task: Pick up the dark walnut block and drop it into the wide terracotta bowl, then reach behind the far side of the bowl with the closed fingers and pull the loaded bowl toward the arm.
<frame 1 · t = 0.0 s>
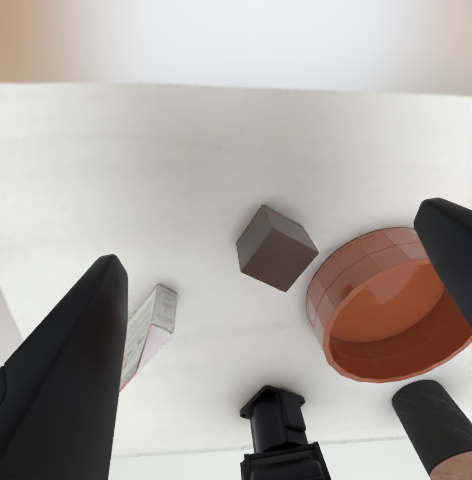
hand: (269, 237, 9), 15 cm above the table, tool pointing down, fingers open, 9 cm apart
travel mug: (415, 394, 41), on the table
block: (269, 235, 27), on the table
bowl: (377, 291, 31), on the table
ink cartridge box: (139, 321, 30), on the table
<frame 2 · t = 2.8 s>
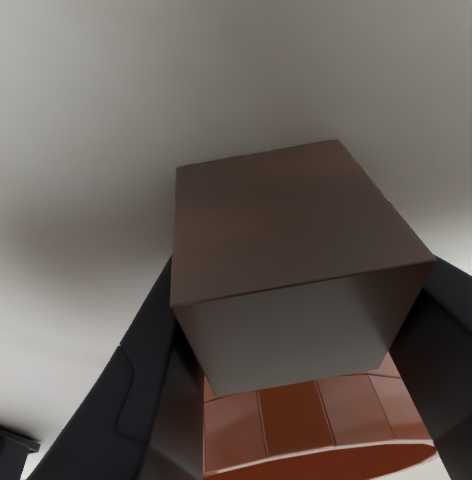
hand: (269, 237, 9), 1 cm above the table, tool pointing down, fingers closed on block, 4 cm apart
block: (262, 215, 9), on the table, touching gripper
bowl: (275, 380, 19), on the table
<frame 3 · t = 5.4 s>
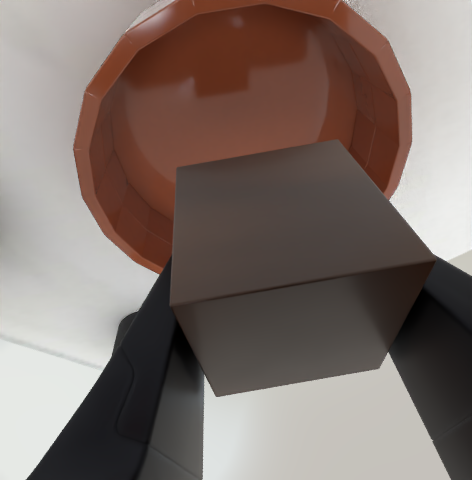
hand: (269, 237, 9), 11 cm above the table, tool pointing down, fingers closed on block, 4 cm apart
block: (262, 215, 9), point 10 cm above the table, touching gripper
bowl: (236, 142, 18), on the table
when the fingers open (1 cm above the table, at t = 8.1 s): block stays where it is, resting on bowl.
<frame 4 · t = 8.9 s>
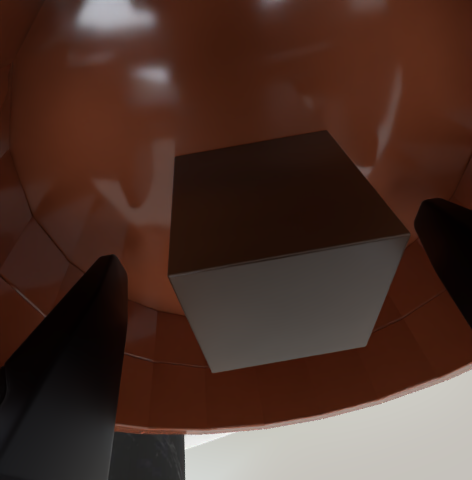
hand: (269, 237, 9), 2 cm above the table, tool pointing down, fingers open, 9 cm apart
travel mug: (138, 410, 24), on the table
block: (256, 204, 10), resting on bowl
bowl: (256, 195, 10), on the table, touching block
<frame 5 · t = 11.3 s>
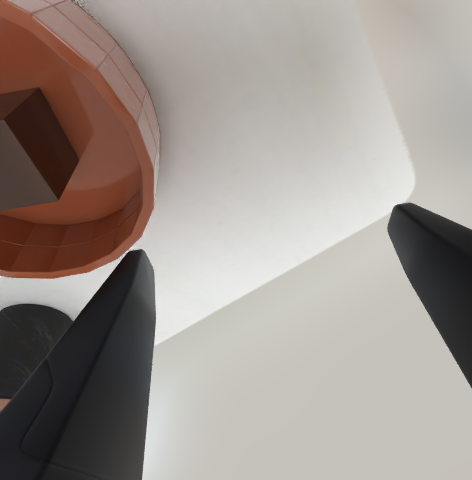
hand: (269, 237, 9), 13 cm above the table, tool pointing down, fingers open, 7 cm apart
travel mug: (37, 321, 31), on the table
block: (24, 133, 17), resting on bowl
bowl: (29, 129, 18), on the table, touching block
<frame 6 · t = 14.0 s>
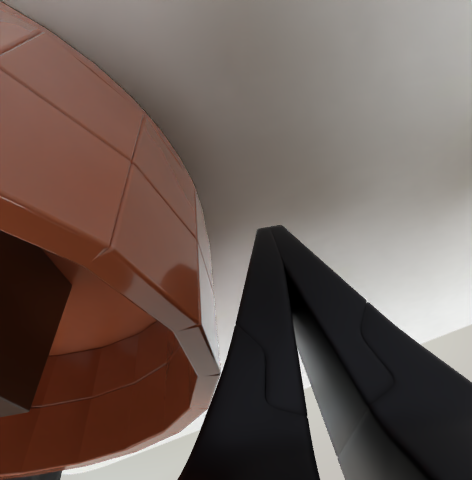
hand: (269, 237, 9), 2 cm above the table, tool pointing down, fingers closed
travel mug: (20, 434, 23), on the table
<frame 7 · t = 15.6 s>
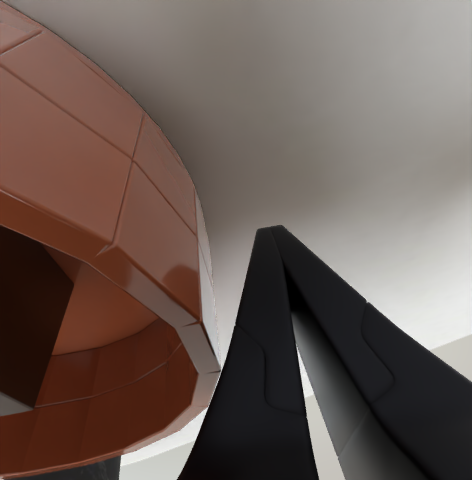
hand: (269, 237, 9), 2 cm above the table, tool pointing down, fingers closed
travel mug: (76, 424, 23), on the table
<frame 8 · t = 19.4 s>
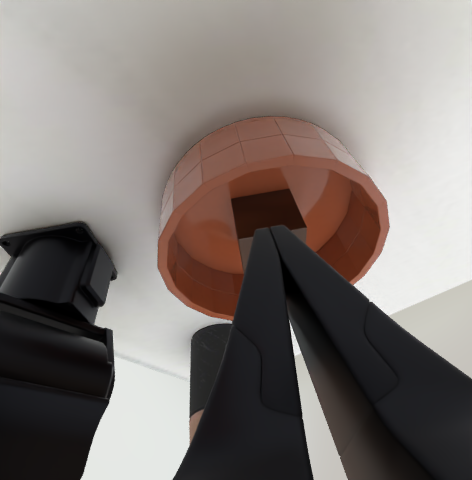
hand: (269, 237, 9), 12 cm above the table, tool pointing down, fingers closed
travel mug: (219, 337, 37), on the table
block: (261, 216, 23), resting on bowl
bowl: (260, 212, 24), on the table, touching block
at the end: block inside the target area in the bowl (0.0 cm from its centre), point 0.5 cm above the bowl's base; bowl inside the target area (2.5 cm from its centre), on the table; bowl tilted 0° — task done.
